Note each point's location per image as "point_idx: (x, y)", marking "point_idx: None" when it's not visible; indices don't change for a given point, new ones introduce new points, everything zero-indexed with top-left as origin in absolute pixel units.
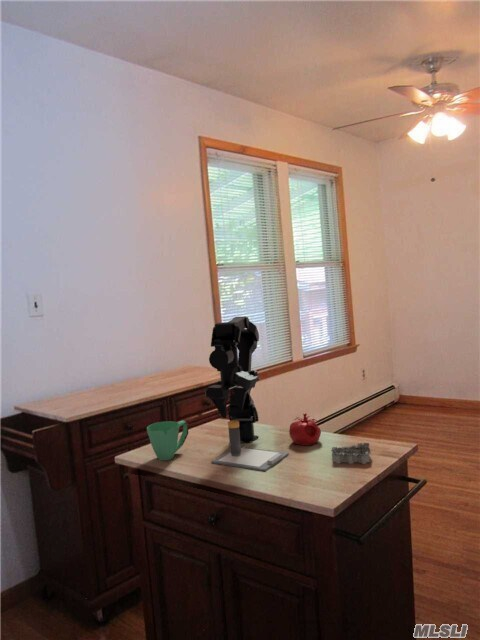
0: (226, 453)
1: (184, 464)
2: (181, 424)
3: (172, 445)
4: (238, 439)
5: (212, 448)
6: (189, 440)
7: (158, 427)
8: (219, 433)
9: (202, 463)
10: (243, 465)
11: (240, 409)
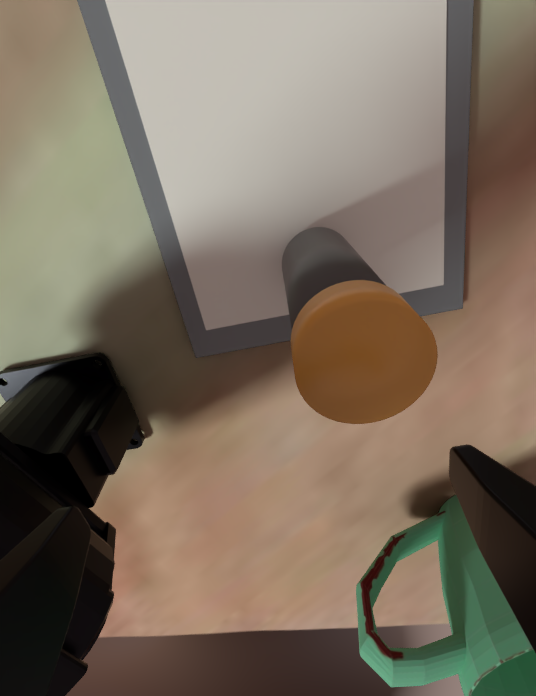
0: None
1: (520, 400)
2: (433, 654)
3: None
4: (336, 249)
5: (279, 446)
6: (257, 574)
7: (501, 692)
8: None
9: (480, 340)
10: (458, 52)
11: (80, 529)
